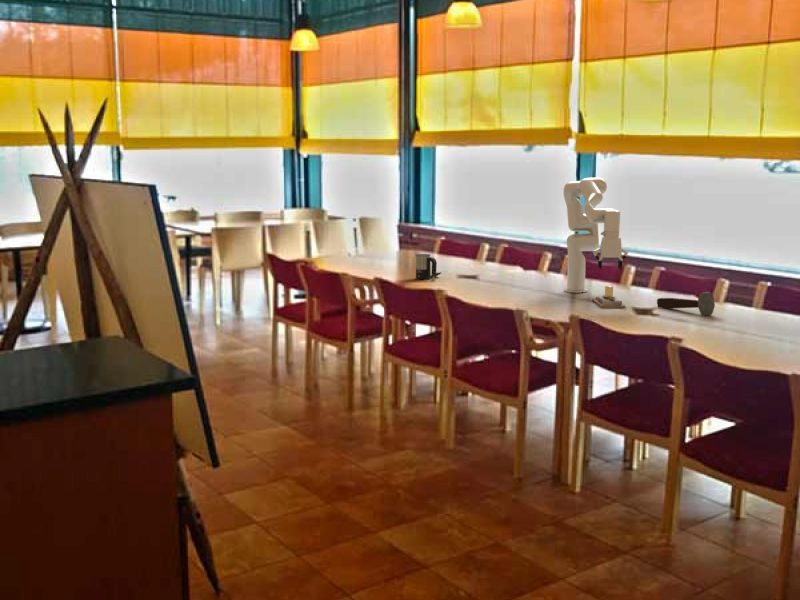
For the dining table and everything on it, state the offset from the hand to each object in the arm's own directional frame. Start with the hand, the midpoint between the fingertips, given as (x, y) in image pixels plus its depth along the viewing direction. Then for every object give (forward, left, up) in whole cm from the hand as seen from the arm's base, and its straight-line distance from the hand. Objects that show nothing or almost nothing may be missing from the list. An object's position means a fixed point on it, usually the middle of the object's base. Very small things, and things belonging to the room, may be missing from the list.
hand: (609, 268), depth 432 cm
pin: (0, 0, -18) cm, 18 cm away
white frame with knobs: (0, 0, -18) cm, 18 cm away
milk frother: (-84, -89, -19) cm, 123 cm away
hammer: (+19, +32, -19) cm, 42 cm away
